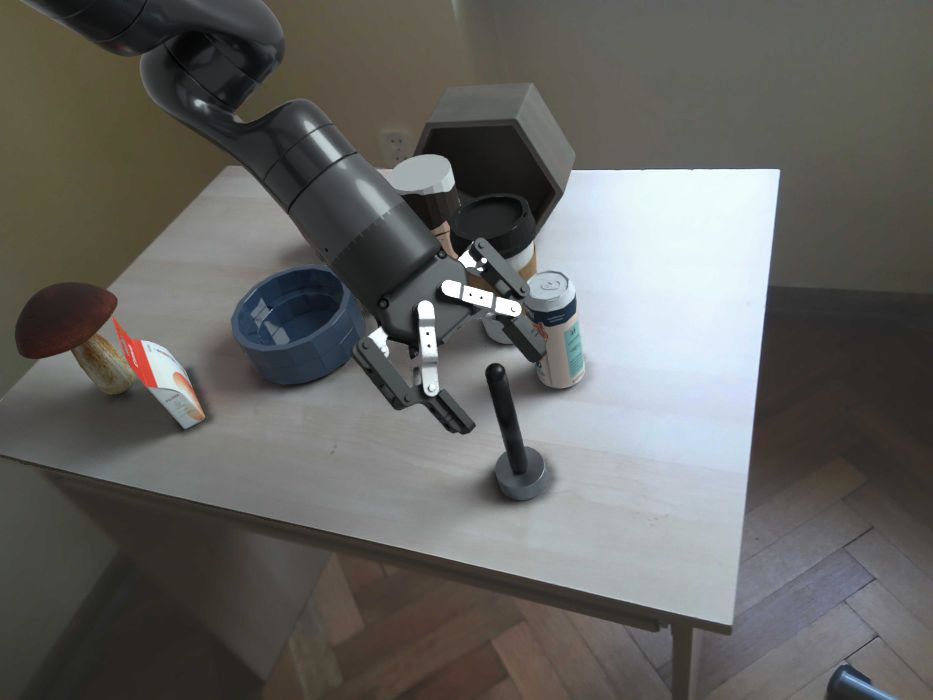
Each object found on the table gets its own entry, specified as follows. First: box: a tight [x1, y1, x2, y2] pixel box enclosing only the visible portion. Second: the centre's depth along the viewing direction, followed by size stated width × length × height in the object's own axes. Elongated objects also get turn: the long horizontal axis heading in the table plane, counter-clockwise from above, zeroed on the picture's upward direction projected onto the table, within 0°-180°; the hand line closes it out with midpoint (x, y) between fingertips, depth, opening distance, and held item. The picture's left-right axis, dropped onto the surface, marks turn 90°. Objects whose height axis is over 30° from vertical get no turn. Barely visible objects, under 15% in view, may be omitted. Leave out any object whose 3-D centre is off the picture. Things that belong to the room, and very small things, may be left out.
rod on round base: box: [484, 362, 548, 501], centre depth 58 cm, size 4×4×15 cm
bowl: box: [230, 263, 367, 385], centre depth 80 cm, size 14×14×6 cm
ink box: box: [110, 314, 206, 430], centre depth 76 cm, size 3×9×12 cm, turn 31°
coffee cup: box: [449, 193, 538, 345], centre depth 72 cm, size 8×8×15 cm
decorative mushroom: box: [14, 281, 136, 395], centre depth 78 cm, size 11×11×15 cm
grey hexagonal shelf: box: [412, 81, 577, 242], centre depth 83 cm, size 17×8×21 cm
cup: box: [387, 154, 461, 260], centre depth 80 cm, size 7×7×15 cm
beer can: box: [523, 269, 586, 389], centre depth 67 cm, size 5×5×12 cm
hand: (506, 393), depth 54 cm, fingers open, 8 cm apart
